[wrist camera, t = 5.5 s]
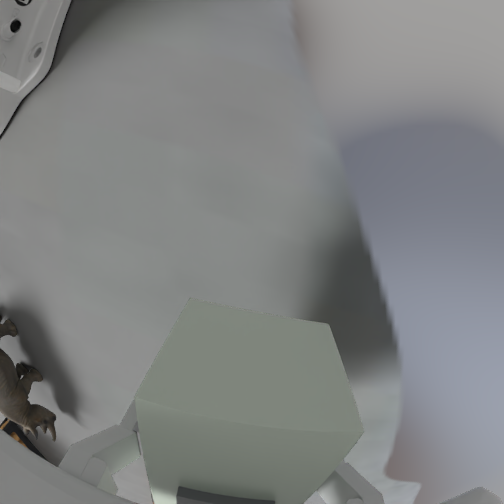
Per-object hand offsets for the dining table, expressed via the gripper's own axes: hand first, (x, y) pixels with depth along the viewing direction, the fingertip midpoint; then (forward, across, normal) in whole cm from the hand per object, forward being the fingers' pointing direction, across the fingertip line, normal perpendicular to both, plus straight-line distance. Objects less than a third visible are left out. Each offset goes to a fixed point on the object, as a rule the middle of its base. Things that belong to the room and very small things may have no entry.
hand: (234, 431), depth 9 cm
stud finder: (+2, 0, 0) cm, 2 cm away
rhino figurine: (+7, +19, +11) cm, 23 cm away
